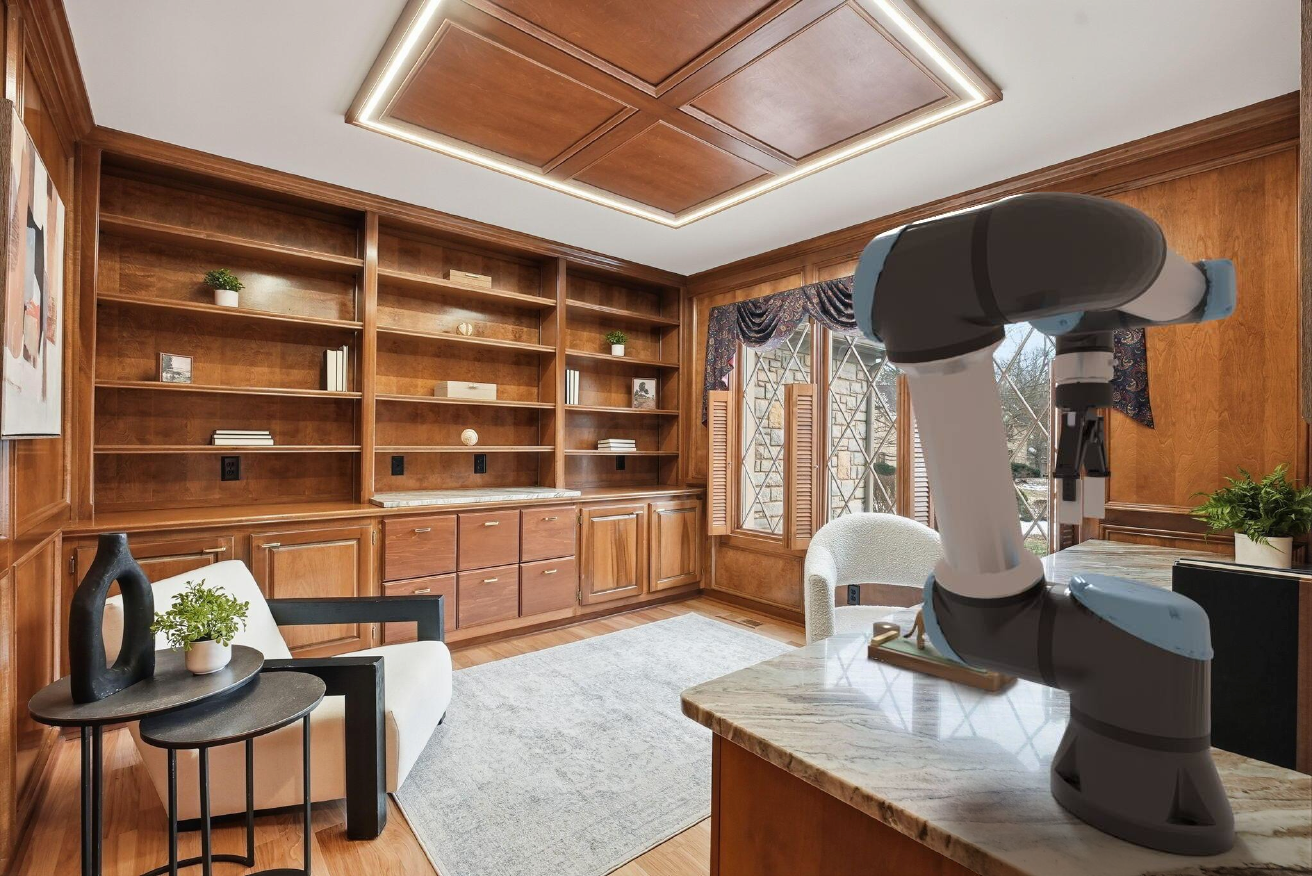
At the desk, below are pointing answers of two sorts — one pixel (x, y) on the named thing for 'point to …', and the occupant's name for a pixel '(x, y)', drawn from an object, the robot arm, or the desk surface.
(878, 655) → the plinth
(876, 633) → the paperweight
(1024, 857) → the desk surface
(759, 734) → the desk surface
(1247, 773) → the desk surface
